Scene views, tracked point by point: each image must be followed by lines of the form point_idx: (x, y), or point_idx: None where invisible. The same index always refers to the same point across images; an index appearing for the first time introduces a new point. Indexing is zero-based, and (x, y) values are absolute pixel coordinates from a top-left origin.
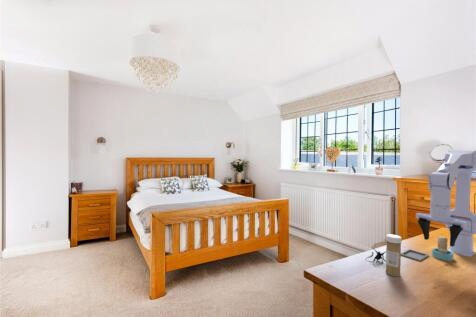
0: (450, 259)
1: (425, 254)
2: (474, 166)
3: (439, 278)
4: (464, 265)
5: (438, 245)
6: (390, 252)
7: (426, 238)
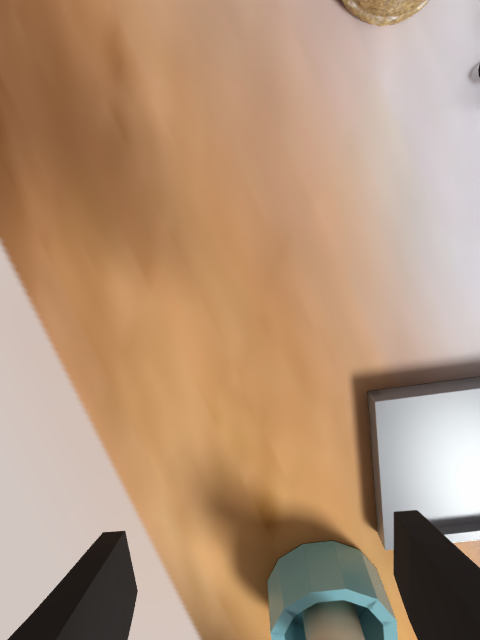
0: (272, 588)
1: None
2: None
3: (178, 251)
4: (209, 591)
5: None
6: None
7: (402, 526)
